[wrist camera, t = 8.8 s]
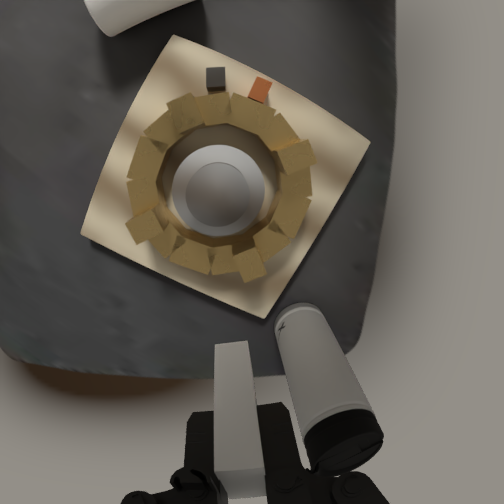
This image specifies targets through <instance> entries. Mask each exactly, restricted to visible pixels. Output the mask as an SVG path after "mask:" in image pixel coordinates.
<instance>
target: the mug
mask: <svg viewBox="0 0 504 504" xmlns="http://www.w3.org/2000/svg"><path fill="white" fill-rule="evenodd" d="M192 1H195V0H84V2H85V5H86V7H87V9H88V11H89V13H90V15H91V16H92V18H93V20H94V21H95V23H96V24H97V25H98V27H99V28H100V29H101V30H102V31H103V32H104V33H105V34H106V35H107V36H109V37H113V36H115V35H117V34H119V33H121V32H123V31H125V30H127V29H129V28H131V27H133V26H135V25H137V24H139V23H141V22H143V21H145V20H147V19H150V18H152V17H154V16H156V15H159V14H161V13H163V12H166V11H168V10H171V9H173V8H176V7H178V6H181V5H184V4H186V3H189V2H192Z"/></svg>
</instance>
